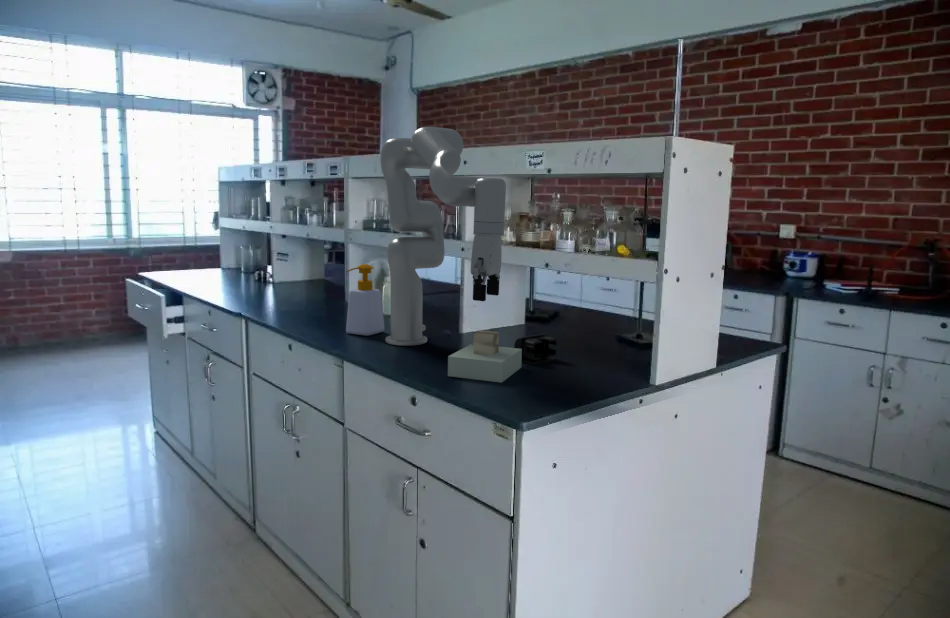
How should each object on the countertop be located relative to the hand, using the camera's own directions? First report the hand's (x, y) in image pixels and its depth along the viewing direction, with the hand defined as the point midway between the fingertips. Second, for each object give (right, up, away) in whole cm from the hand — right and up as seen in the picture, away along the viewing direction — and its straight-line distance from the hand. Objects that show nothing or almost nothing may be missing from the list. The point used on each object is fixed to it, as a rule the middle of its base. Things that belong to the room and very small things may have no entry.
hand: (486, 297), depth 168 cm
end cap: (+14, -17, +16) cm, 27 cm away
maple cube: (0, -14, +2) cm, 14 cm away
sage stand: (0, -19, +3) cm, 19 cm away
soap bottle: (-39, -11, +46) cm, 61 cm away
